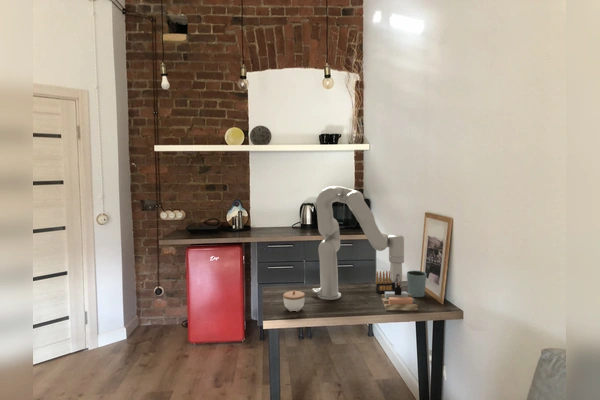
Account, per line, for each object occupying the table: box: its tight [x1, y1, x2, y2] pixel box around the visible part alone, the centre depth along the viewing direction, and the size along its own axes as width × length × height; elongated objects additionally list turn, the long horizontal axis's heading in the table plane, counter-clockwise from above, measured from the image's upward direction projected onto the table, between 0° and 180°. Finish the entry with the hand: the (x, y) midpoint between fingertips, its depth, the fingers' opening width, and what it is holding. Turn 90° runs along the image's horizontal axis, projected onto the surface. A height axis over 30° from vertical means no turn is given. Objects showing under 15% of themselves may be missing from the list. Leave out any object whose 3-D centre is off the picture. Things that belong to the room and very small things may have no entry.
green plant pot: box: [406, 270, 427, 298], centre depth 203 cm, size 10×10×12 cm
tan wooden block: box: [389, 296, 416, 304], centre depth 184 cm, size 12×4×4 cm, turn 85°
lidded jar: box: [282, 290, 306, 312], centre depth 186 cm, size 11×11×9 cm
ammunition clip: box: [375, 270, 395, 294], centre depth 209 cm, size 11×2×12 cm, turn 90°
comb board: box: [381, 293, 419, 311], centre depth 189 cm, size 15×16×2 cm
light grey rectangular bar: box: [384, 291, 410, 298], centre depth 193 cm, size 12×4×4 cm, turn 85°
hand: (396, 291), depth 193 cm, fingers open, 9 cm apart
